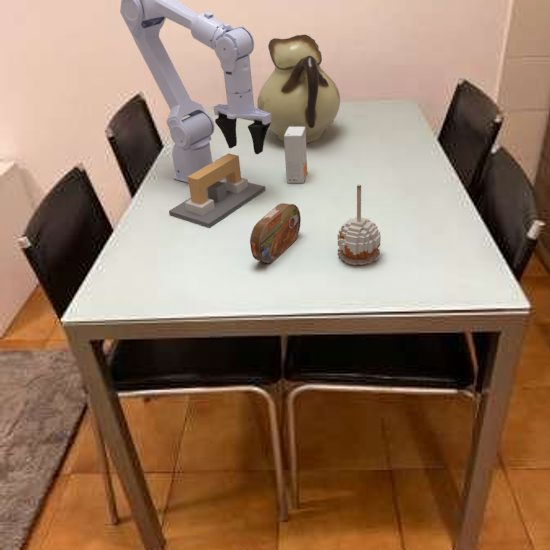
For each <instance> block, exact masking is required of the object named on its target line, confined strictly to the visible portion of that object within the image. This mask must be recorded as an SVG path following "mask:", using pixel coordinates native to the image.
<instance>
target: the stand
mask: <svg viewBox="0 0 550 550" xmlns="http://www.w3.org/2000/svg"><path fill="white" fill-rule="evenodd" d="M265 191H266V186H265V185H260V184H257V183H252V182H249V181H248V179H247V178H244V177H241V180H240V181H239V182H237V183H234V182H230V181H226V177H224V178H222V179H221V180H219V181H218V182H216V183H214V184H213V185H211V186H209V187H208V188H206V194H207V200H208V201H207V202H205V203H204V204H202V205H201V204H198V203H194V202H192V201H191V197H190V198H188V199H185V201H182V202H181V203H179V204H178V205H176V206H174V207H173V208H171V209H170V210H169V211H168V212H169V214H168V215H169V216H172V217H176V218H179V219H180V220H184V221H188V222H191V223H194V224H197V225H199V226H202V227H203V226H204V227H206V228H211V227H213V226H214V225H216V224H217V223H220V221H223V219H225V218H226V217H228V216H230V215H231V214H232V213H234V212H235V211H237V210H238V209H240V208H241V207H242V206H244V205H246V204H247V203H249V202H251V201H252V200H253V199H255V198H256V197H258V196H259V195H260V194H262V193H264V192H265Z"/></svg>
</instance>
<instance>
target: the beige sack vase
mask: <svg viewBox="0 0 550 550" xmlns="http://www.w3.org/2000/svg"><path fill="white" fill-rule="evenodd" d="M267 46H268V51H269V55H270V59H271V61H272V63H273V65H274V69H273V72H272V73H271V74H270V75H269V76H268V78H267V79H266V80H265V81H264V83H263V85H262V86H261V88H260V91H259V92H258V96H257V100H256V105H257V106H256V107H257V109H260V110H262V111H264V112H267V113H271V124H270V126H269V128H268V129H270V131H272V132H273V133H275V134H276V135H277V137H278V139H279V141H282V142H283V143H284V135H285V133H286V131H287V129H288V127H305V130H306V144H308V143H312V142H314V141H317V140H319V139H320V138H322V137H323V133H324V132H325V130H327V129H328V128H329V127H330V126H331V124H332V123H333V122H334V121H335V119H336V117H337V116H338V114H339V109H340V105H341V96H340V91H339V88H338V86H337V85H336V82H335V81H334V80H333V79H332V78H331V77H330V76H329V74H327V73H326V71H324V70H323V68H322V67H321V64H322V61H323V58H322V52H321V51H320V50H319V45H318V43H316V40H315V39H314V38H313V37H311V36H310V35H308V34H300V35H299V34H296V35H294V36H292V37H289V38H279V37H278V38H277V37H276V38H275V37H274V38H272V39H270V41H269V42H268V45H267Z"/></svg>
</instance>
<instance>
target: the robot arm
mask: <svg viewBox="0 0 550 550" xmlns="http://www.w3.org/2000/svg"><path fill="white" fill-rule="evenodd" d="M119 12H120V14H121V17H122V18H123V20H124V23H125V24H126V26H127V27H128V28H127V29H128V31H129V32H130V34H131V36H132V38H133V41H134V43H135V45H136V46H137V49H138V50H139V52H140V54H141V55H142V57H143V60H144V62H145V63H146V65H147V67H148V70H149V71H150V73H151V75H152V77H153V79H154V81H155V83H156V85H157V87H158V89H159V90H160V93H161V94H162V97H163V98H164V100H165V102H166V104H167V107H168V108H169V110H170V112H169V114H168V117H167V119H166V121H165V123H166V125H167V127H168V130H169V133H170V138H171V140H172V142H173V143H174V144H173V147H172V152H171V156H172V161H173V169H174V172H175V175H174V176H173V179H174V180H177V181H181V182H183V183H184V182H185V183H187V184H188V178H187V177H188V176H190V175H191V174H193V173H195V172H197V171H198V170H200V169H202V168H204V167H205V166H207V165H209V164H211V163H213V162H214V161H213V157H212V156H213V155H212V150H211V143H210V141H212V135H213V133H215V124H216V126H217V127H218V128H219V129H220V131H221V133H222V135H223V136H224V139H225V141H226V144H227V146H228V148H229V149H233V148H235V147H236V146H237V143H238V141H237V139H238V136H237V119H241V120H245V121H252V123H251V124H248V125H247V128H248V131H249V133H250V136H251V139H252V145H253V146H252V147H253V151H254V154H255V155H259V154H261V153H262V152H264V145H265V139H266V135H267V133H268V130H269V129H270V128H269V126H270V124H271V113H267V112H264V111H262V110H260V109H258V107H256V106H255V102H254V93H253V92H254V91H253V81H252V78H253V77H252V70H251V59H250V55H251V54H252V53H253V51H254V49H255V40H254V38H253V35H252V33H251V32H250V31H249V30H248V29H247V28H246V27H244V26H237V27H233V26H232V25H231V24H230V23H228V22H223V21H222V20H220V19H218V18H217V17H215V16H214V13H212V12H211V11H207V12H204V11H203V12H200V13H197V12H195V11H194V10H193V9H191V8H189V7H188V6H186V5H185V4H184V3H182V2H181V1H179V0H120V10H119ZM166 19H168V20H170V21H172V22H174V23H176V24H178V25H180V26H182V27H184V28H185V29H188V30H190V34H191V35H192V38H193V39H194V40H197V41H198V42H199V43H201V44H203V45H205V46H207V47H208V48H209V49H211V50H214V53H215V55H216V57H217V59H218V60H219V61H220V68H221V69H222V71H223V77H224V79H223V80H224V87H225V96H226V102H227V103H226V104H221V103H219V104H216V105H215V106H213V113H214V115H215V116H217V118H215V119H214V120H213V118H212V116H211V115H210V114H209V113H208V112H207V111H206V110H205V108H204V106H203V105H202V103H199V102H198V101H197V102H196V101H195V100H192V99H191V97H190V94H189V93H188V91H187V89H186V87H185V85H184V84H183V82H182V79H181V77H180V75H179V73H178V71H177V70H176V68H175V65H174V63H173V61H172V60H171V57H170V56H169V54H168V52H167V50H166V48H165V46H164V43H163V42H162V40H161V38H160V32H161V29H162V28H163V26H164V24H165V21H166Z"/></svg>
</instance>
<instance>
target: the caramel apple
mask: <svg viewBox="0 0 550 550" xmlns="http://www.w3.org/2000/svg"><path fill="white" fill-rule="evenodd" d="M336 237H337V246H338V249H337V256H338V257H339V259H340V260H341V261H344V263H345V264H349V265H353V266H356V265H360V266H363V265H364V264H365V265H367V264H371V263H372V262H373V261H374V262H376V261H377V259H379V257H380V256H381V252H380V246H381V240H382V239H381V231H379V229H378V225H377V223H376V222H373V221H371V219H370V218H366V217H362V184H357V185H356V216H355V217H354V218H353V217H351V218H349V219H348V220H347V221H346V222H344V223H343V224H342V225H341V227H340V229H339V230H338V233H337V236H336Z"/></svg>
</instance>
